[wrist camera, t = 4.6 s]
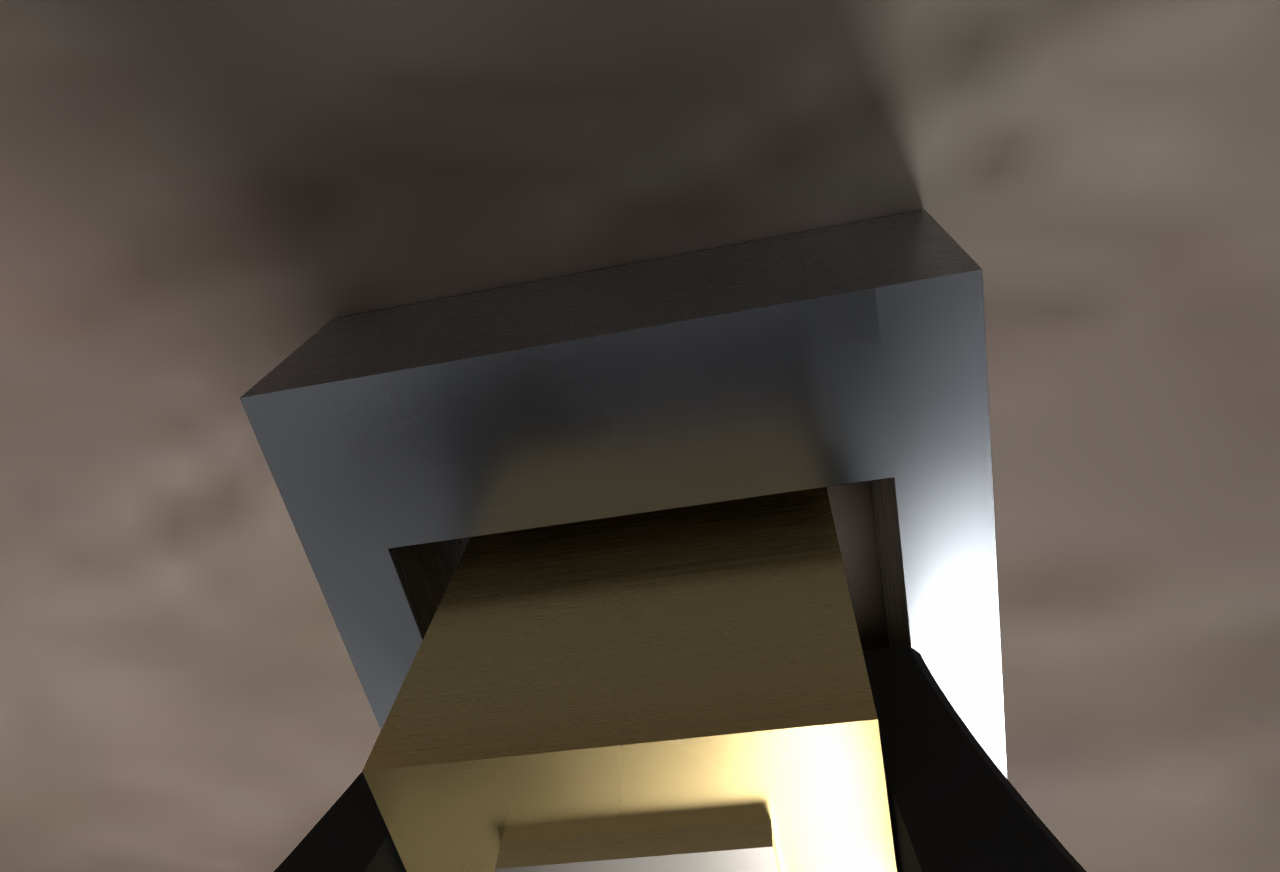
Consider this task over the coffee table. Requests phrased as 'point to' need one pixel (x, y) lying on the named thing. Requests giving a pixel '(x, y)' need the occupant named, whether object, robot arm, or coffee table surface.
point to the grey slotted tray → (656, 428)
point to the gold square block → (642, 702)
